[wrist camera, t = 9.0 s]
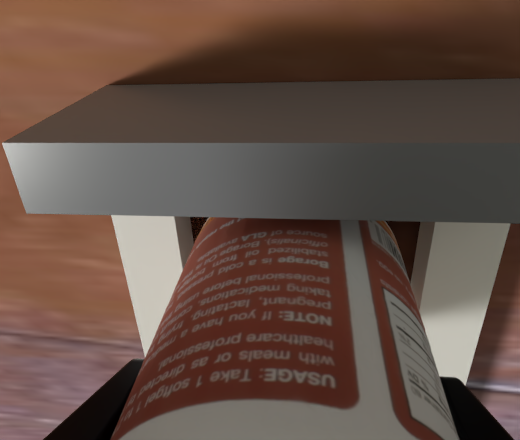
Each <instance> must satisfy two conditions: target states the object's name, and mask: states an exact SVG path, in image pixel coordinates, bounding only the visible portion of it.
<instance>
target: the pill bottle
mask: <svg viewBox="0 0 520 440" xmlns="http://www.w3.org/2000/svg"><path fill="white" fill-rule="evenodd" d="M110 440H459V437H458V434H457V431H456V428H455V425H454V422H453V419H452V415H451V412H450V409H449V406H448V403H447V399H446V396H445V393H444V389H443V386H442V383H441V380H440V377H439V374H438V370H437V367H436V364H435V361H434V357H433V355H432V351H431V346H430V343H429V341H428V338H427V335H426V332H425V327H424V325H423V322H422V319H421V315H420V312H419V310H418V307H417V303H416V300H415V297H414V294H413V291H412V288H411V284H410V281H409V278H408V275H407V272H406V269H405V265H404V262H403V259H402V255H401V252H400V249H399V247H398V244H397V241H396V239H395V236H394V234H393V232H392V230H391V229H390V227H389V226H388V224H387V223H386V221H369V220H321V219H273V218H225V217H209V218H208V219H207V221H206V222H205V224H204V226H203V227H202V229H201V231H200V233H199V235H198V237H197V239H196V241H195V243H194V245H193V248H192V250H191V252H190V255H189V257H188V259H187V262H186V264H185V266H184V269H183V271H182V273H181V276H180V278H179V280H178V283H177V285H176V287H175V290H174V292H173V294H172V297H171V299H170V301H169V304H168V306H167V308H166V310H165V313H164V315H163V317H162V319H161V322H160V324H159V327H158V329H157V331H156V334H155V336H154V338H153V341H152V343H151V345H150V348H149V350H148V352H147V355H146V357H145V359H144V361H143V364H142V367H141V369H140V371H139V374H138V376H137V378H136V381H135V383H134V385H133V388H132V390H131V392H130V395H129V397H128V399H127V401H126V404H125V406H124V409H123V411H122V414H121V416H120V418H119V421H118V423H117V426H116V428H115V430H114V432H113V435H112V437H111V439H110Z"/></svg>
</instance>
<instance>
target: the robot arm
mask: <svg viewBox="0 0 520 440" xmlns="http://www.w3.org/2000/svg"><path fill="white" fill-rule="evenodd" d="M143 361H144V359H133V360H131V361H130V362H128V363H127V364H126V365H125V366H124V367H123V368H122V369H121V370H120V371H119V372H117V373H116V374H115V375H114V376H113V377H112V378H111V379H110V380H109V381H107V382H106V383H105V384H104V385H103V386H102V387H101V388H100V389H99V390H97V391H96V392H95V393H94V394H93V395H92V396H91V397H90V398H89V399H88V400H86V401H85V402H84V403H83V404H82V405H81V406H80V407H79V408H78V409H76V410H75V411H74V412H73V413H72V414H71V415H70V416H69V417H68V418H66V419H65V420H64V421H63V422H62V423H61V424H60V425H59V426H58V427H57V428H55V429H54V430H53V431H52V432H51V433H50V434H49V435H48V436H47V437H45V438H44V439H43V440H110V439H111V437H112V435H113V432H114V430H115V428H116V426H117V423H118V421H119V418H120V416H121V414H122V411H123V409H124V406H125V404H126V401H127V399H128V397H129V395H130V392H131V390H132V388H133V385H134V383H135V381H136V378H137V376H138V374H139V371H140V369H141V367H142V364H143ZM440 380H441V383H442V386H443V389H444V393H445V396H446V399H447V403H448V406H449V409H450V412H451V415H452V419H453V422H454V425H455V428H456V431H457V434H458V437H459V440H514V439H513V438H512V437H511V436H510V435H509V433H508V432H507V431H506V430H505V429H504V428H503V427H502V426H501V425H500V423H499V422H498V421H497V420H496V419H495V418H494V417H493V416H492V415H491V413H490V412H489V411H488V410H487V409H486V408H485V407H484V406H483V405H482V403H481V402H480V401H479V400H478V399H477V398H476V397H475V396H474V395H473V393H472V392H471V391H470V390H469V389H468V388H467V387H466V386H465V385H464V383H463V382H462V381H461V380H460V379H458V378H456V377H443V376H440Z"/></svg>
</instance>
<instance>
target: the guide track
mask: <svg viewBox="0 0 520 440" xmlns="http://www.w3.org/2000/svg"><path fill="white" fill-rule="evenodd" d="M2 144H3V147H4V150H5V153H6V156H7V158H8V161H9V164H10V167H11V170H12V173H13V176H14V179H15V182H16V184H17V187H18V190H19V193H20V196H21V199H22V202H23V205H24V207H25V210H26V213H34V214H82V215H111V216H112V220H113V224H114V229H115V233H116V237H117V241H118V245H119V250H120V254H121V258H122V262H123V266H124V271H125V275H126V279H127V283H128V287H129V291H130V296H131V300H132V304H133V308H134V312H135V317H136V321H137V325H138V329H139V333H140V338H141V342H142V346H143V350H144V354H145V357H146V355H147V352H148V350H149V348H150V345H151V343H152V341H153V338H154V336H155V334H156V331H157V329H158V327H159V324H160V322H161V319H162V317H163V315H164V313H165V310H166V308H167V306H168V304H169V301H170V299H171V297H172V294H173V292H174V290H175V287H176V285H177V283H178V280H179V278H180V276H181V273H182V271H183V269H184V266H185V264H186V262H187V259H188V257H189V255H190V252H191V250H192V248H193V245H194V242H193V235H192V227H191V220H190V217H225V218H273V219H321V220H369V221H417V222H420V228H419V234H418V240H417V246H416V253H415V259H414V265H413V271H412V278H411V288H412V291H413V294H414V297H415V300H416V303H417V307H418V310H419V312H420V315H421V319H422V322H423V325H424V327H425V332H426V335H427V338H428V341H429V343H430V346H431V351H432V355H433V357H434V361H435V364H436V367H437V370H438V374H439V377H440V376H443V377H456V378H458V379H460V380H461V381H462V382H463V383H464V385H465V386H466V382H467V378H468V375H469V371H470V368H471V364H472V360H473V357H474V353H475V350H476V346H477V343H478V339H479V335H480V332H481V328H482V325H483V321H484V317H485V314H486V310H487V307H488V303H489V299H490V296H491V292H492V289H493V285H494V282H495V278H496V274H497V271H498V267H499V264H500V260H501V256H502V253H503V249H504V246H505V242H506V238H507V235H508V231H509V228H510V224H511V223H512V224H520V78H512V79H452V80H392V81H331V82H271V83H211V84H150V85H106V86H104V87H103V88H101V89H99V90H97V91H95V92H93V93H92V94H90V95H88V96H86V97H84V98H83V99H81V100H79V101H77V102H75V103H74V104H72V105H70V106H68V107H66V108H64V109H63V110H61V111H59V112H57V113H55V114H54V115H52V116H50V117H48V118H46V119H45V120H43V121H41V122H39V123H37V124H35V125H34V126H32V127H30V128H28V129H26V130H25V131H23V132H21V133H19V134H17V135H16V136H14V137H12V138H10V139H8V140H6V141H5V142H3V143H2Z"/></svg>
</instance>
